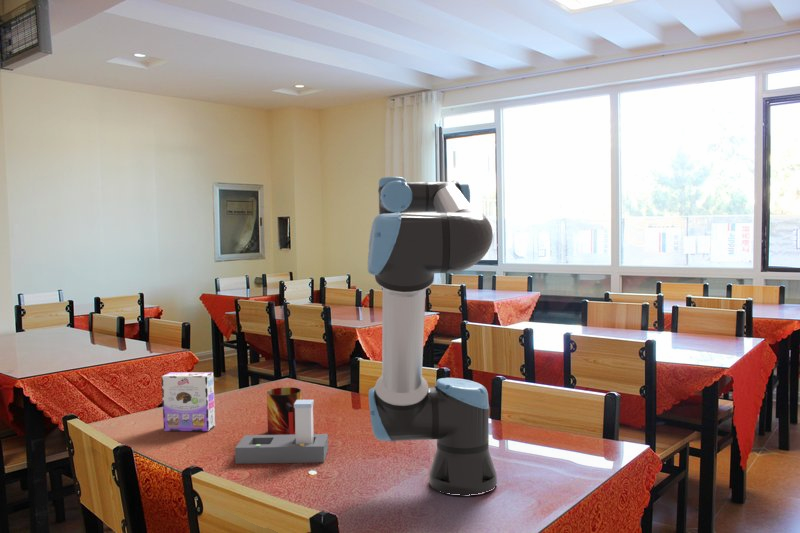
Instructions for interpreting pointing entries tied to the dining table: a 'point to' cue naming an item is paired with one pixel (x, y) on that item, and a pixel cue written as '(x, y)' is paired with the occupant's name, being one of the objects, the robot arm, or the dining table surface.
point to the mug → (282, 410)
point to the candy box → (188, 401)
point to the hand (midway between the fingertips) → (394, 315)
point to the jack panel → (280, 449)
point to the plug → (304, 421)
